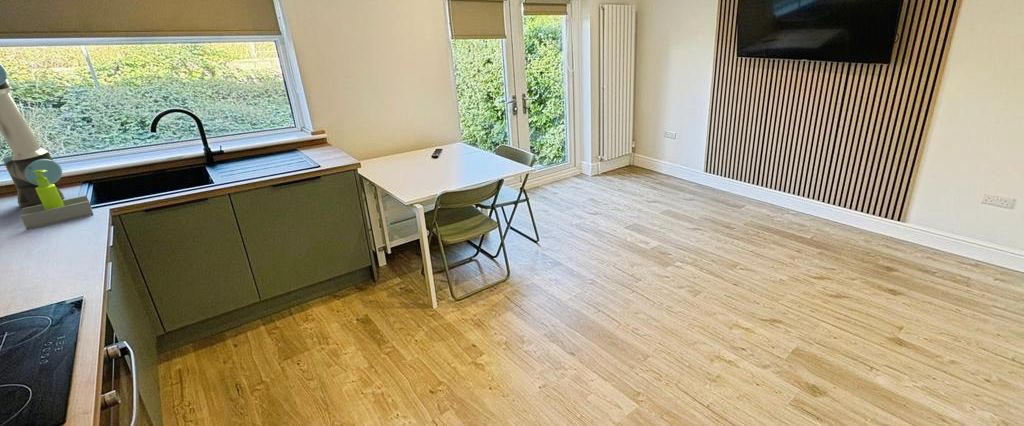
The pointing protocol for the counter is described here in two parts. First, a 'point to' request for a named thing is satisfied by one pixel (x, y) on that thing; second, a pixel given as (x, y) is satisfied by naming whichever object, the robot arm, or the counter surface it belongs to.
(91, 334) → the counter surface
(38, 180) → the soap dispenser
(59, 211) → the gray rectangular tray
